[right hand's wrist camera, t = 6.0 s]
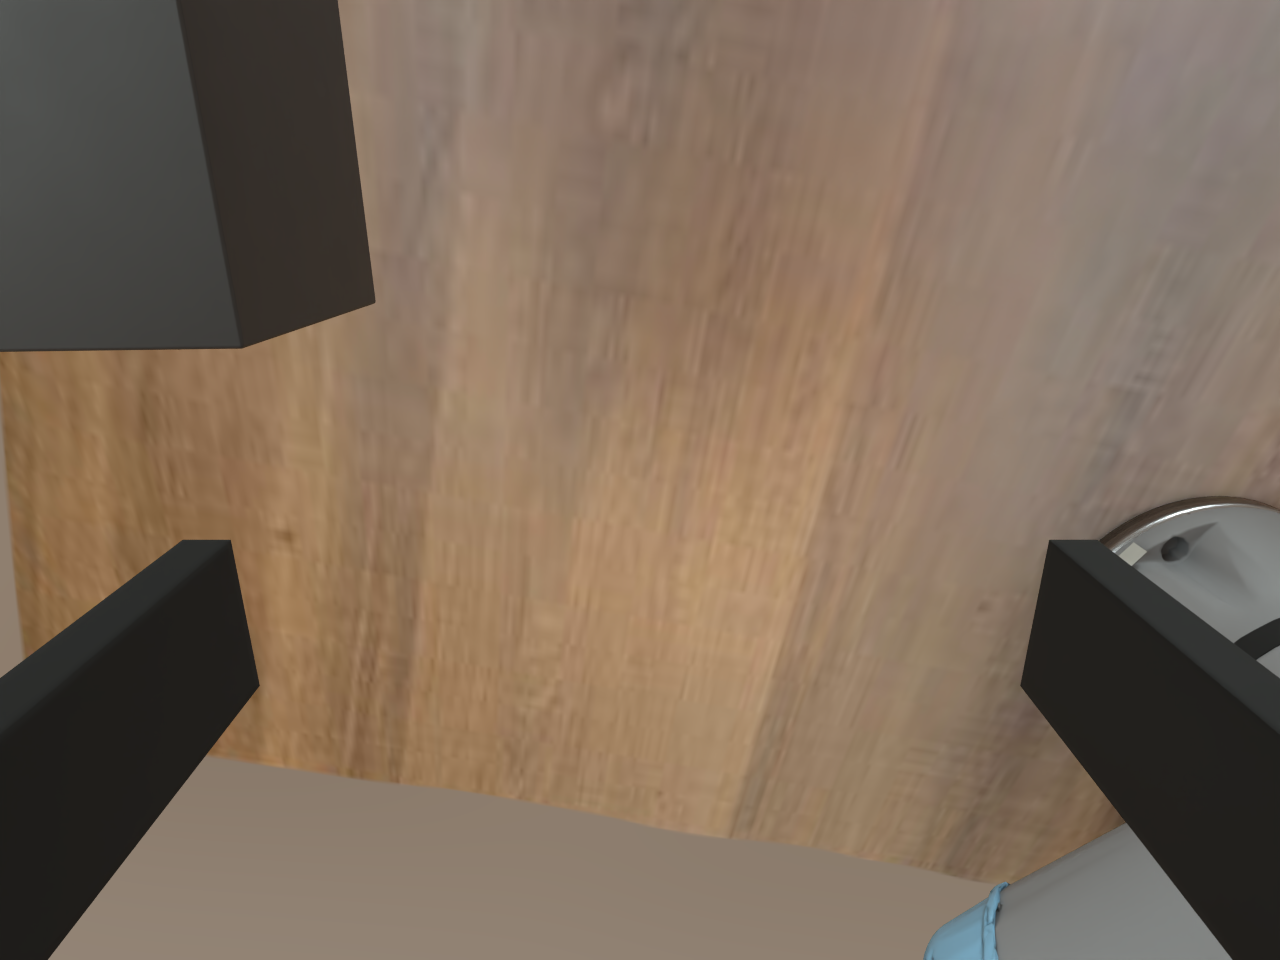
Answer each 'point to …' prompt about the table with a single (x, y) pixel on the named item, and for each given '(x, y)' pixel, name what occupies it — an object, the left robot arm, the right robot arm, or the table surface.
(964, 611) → the table surface
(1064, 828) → the table surface
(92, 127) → the box
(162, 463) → the table surface
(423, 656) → the table surface
